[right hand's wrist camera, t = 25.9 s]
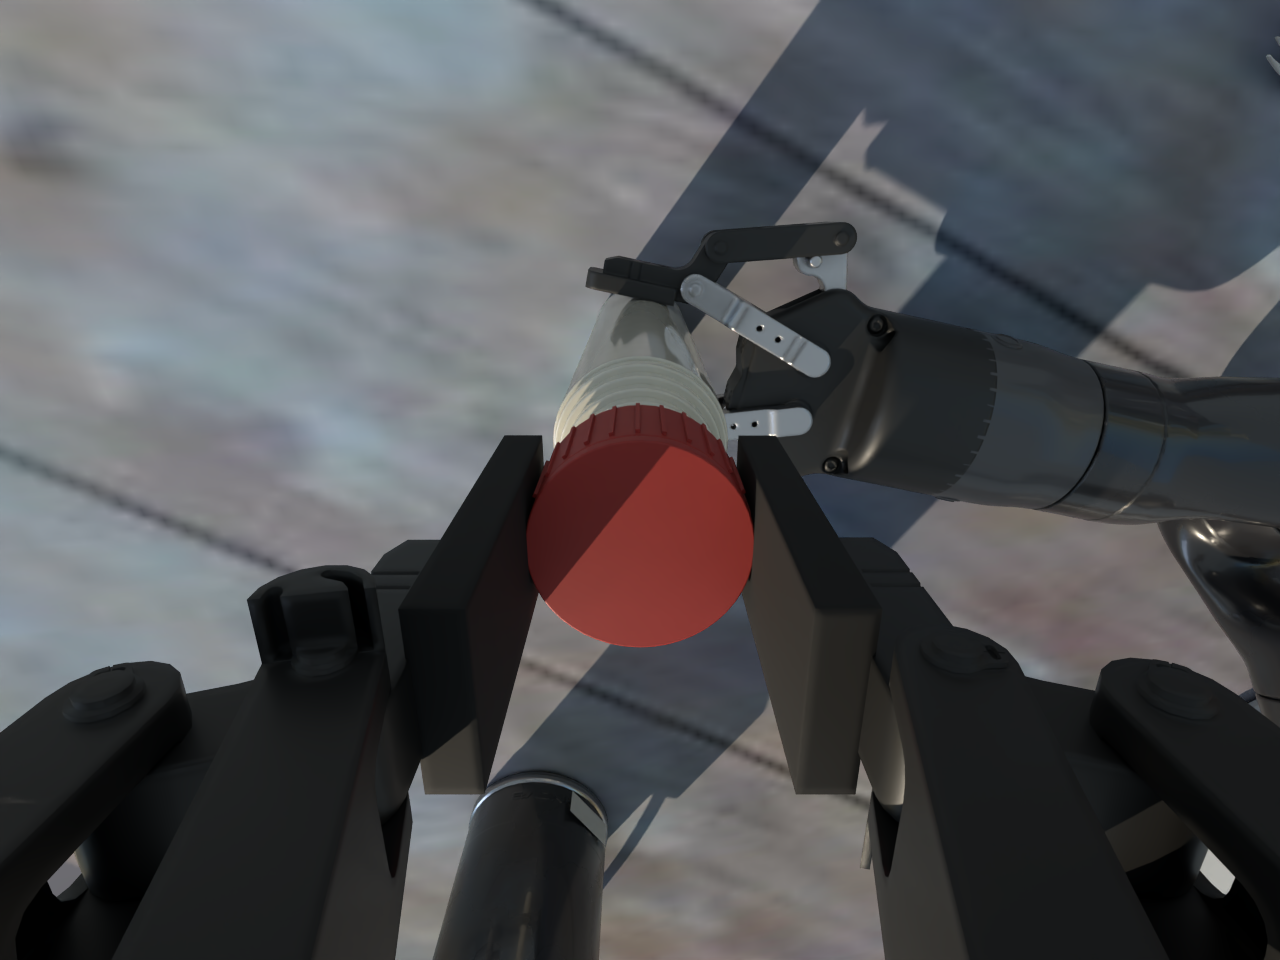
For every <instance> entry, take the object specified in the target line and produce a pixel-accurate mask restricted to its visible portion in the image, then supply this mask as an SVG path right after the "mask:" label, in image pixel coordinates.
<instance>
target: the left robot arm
mask: <svg viewBox="0 0 1280 960" xmlns="http://www.w3.org/2000/svg"><path fill="white" fill-rule="evenodd" d="M856 240H857V233H856V230H855V228H854V227H853V226H852V225H851V224H849V223H845V222H818V223H805V224H792V225H778V226H765V227H752V228H738V229H725V230H713V231H710V232H708V233H707V234H706V235H705V236H704V237H703V239H702V242H701V245H700V247H699V249H698V250H697V252H696V253H695V255H694V257H693V258H692V260H691V261H690V262H689V263H688V264H687V265H685V266H683V267H679V268H673V267H668V266H664V265H659V264H654V263H650V262H645V261H641V260H636V259H631V258H627V257H622V256H615V257H610V258H606V260H605V263H604V269H600V268H595V267H590V268H589V269H588V275H587V281H586V287H588V288H591V289H595V290H599V291H604V292H608V293H613V294H618V295H623V296H627V297H632V298H637V299H641V300H646V301H652V302H656V303H660V304H665V305H669V306H674V302H675V301H677V302H682V303H687V304H691V305H692V306H694V307H696V308H697V309H699V310H701V311H702V312H704V313H706V314H707V315H709V316H711V317H713V318H714V319H716V320H718V321H719V322H721V323H722V324H724V325H725V326H727V327H728V328H730V329H731V330H733V331H734V332H736V333H738V334H739V338H738V342H737V346H736V367H735V369H734V371H733V372H732V374H731V376H730V378H729V380H728V381H727V385H726V389H725V393H724V394H718V395H716V396H717V398H718V400H719V403H720V405H721V408H722V410H723V413H724V416H725V420H726V424H727V432H728V441H730V440H738V435H776V437H777V438H778V440H779V441H780V443H781V445H782V446H783V448H784V450H785V451H786V453H787V454H788V456H789V458H790V459H791V461H792V463H793V464H794V466H795V467H796V469H797V471H798V472H799V474H800V476H804V475H808V474H814V473H824V474H829V475H833V476H837V477H842V478H847V479H852V480H857V481H862V482H867V483H873V484H878V485H883V486H888V487H893V488H898V489H903V490H908V491H913V492H918V493H923V494H928V495H932V496H934V497H935V498H938V499H941V500H945V501H951V502H954V501H963V502H968V503H974V504H981V505H989V506H1005V507H1021V508H1028V509H1034V510H1039V511H1044V512H1049V513H1054V514H1059V515H1064V516H1069V517H1074V518H1079V519H1084V520H1088V521H1094V522H1101V523H1109V524H1123V525H1138V524H1149V523H1157V525H1158V527H1159V529H1160V532H1161V534H1162V536H1163V538H1164V540H1165V542H1166V544H1167V546H1168V547H1169V549H1170V551H1171V553H1172V554H1173V556H1174V557H1175V559H1176V560H1177V562H1178V563H1179V565H1180V566H1181V568H1182V569H1183V571H1184V572H1185V574H1186V575H1187V577H1188V579H1189V580H1190V582H1191V583H1192V585H1193V586H1194V588H1195V589H1196V591H1197V592H1198V594H1199V595H1200V597H1201V598H1202V600H1203V601H1204V603H1205V604H1206V606H1207V608H1208V609H1209V611H1210V612H1211V614H1212V615H1213V617H1214V619H1215V620H1216V622H1217V623H1218V624H1219V626H1220V627H1221V629H1222V630H1223V631H1224V633H1225V634H1226V636H1227V637H1228V638H1229V640H1230V641H1231V642H1232V644H1233V645H1234V647H1235V648H1236V650H1237V651H1238V653H1239V654H1240V656H1241V657H1242V659H1243V661H1244V662H1245V665H1246V667H1247V669H1248V672H1249V676H1250V679H1251V683H1252V686H1253V689H1254V691H1255V692H1256V694H1255V696H1256V699H1257V702H1258V705H1259V708H1260V711H1261V713H1262V714H1263V715H1264V716H1265V717H1267V718H1268V719H1269V720H1271V721H1272V722H1273V723H1275V724H1276V725H1277V726H1278V727H1280V378H1257V377H1202V378H1162V377H1157V376H1154V375H1150V374H1146V373H1142V372H1138V371H1133V370H1128V369H1124V368H1119V367H1115V366H1110V365H1105V364H1101V363H1096V362H1092V361H1087V360H1082V359H1078V358H1075V357H1071V356H1068V355H1065V354H1062V353H1059V352H1057V351H1054V350H1052V349H1049V348H1047V347H1044V346H1041V345H1038V344H1035V343H1031V342H1027V341H1023V340H1020V339H1015V338H1012V337H1010V336H1007V335H1003V334H992V333H987V332H983V331H978V330H974V329H968V328H964V327H960V326H955V325H951V324H946V323H941V322H937V321H932V320H928V319H923V318H918V317H914V316H909V315H905V314H900V313H896V312H891V311H886V310H882V309H877V308H873V307H869V306H867V305H865V304H864V303H863V302H861V301H860V300H859V299H858V298H857V297H856V296H855V295H854V294H853V293H851V292H850V291H848V290H847V266H848V252H849V251H851V250H852V249H853V247H854V246H855V244H856ZM787 258H793V264H794V267H795V269H796V270H797V271H798V272H800V273H802V274H805V275H809V276H814V277H815V278H816V279H817V280H818V282H819V286H820V289H818V290H816V291H813V292H811V293H809V294H807V295H804V296H802V297H800V298H798V299H795V300H793V301H791V302H789V303H786V304H784V305H782V306H780V307H778V308H775V309H773V310H771V311H769V312H765V311H763V310H761V309H760V308H758V307H757V306H755V305H753V304H752V303H750V302H748V301H747V300H745V299H743V298H742V297H740V296H738V295H737V294H735V293H733V292H731V291H730V290H728V289H726V288H725V287H723V286H721V285H720V284H718V283H716V281H717V280H718V278H719V276H720V275H721V273H722V272H723V270H724V269H725V267H726V265H727V264H728V263H733V262H747V261H760V260H774V259H787ZM725 406H726V408H725V409H723V408H724V407H725ZM732 424H733V425H734V426H731V425H732ZM607 834H608V820H607V815H606V812H605V810H604V808H603V806H602V804H601V802H600V801H599V800H598V798H597V797H596V796H595V795H594V794H593V793H592V792H591V791H590V790H589V789H588V788H586V787H585V786H583V785H582V784H580V783H578V782H577V781H575V780H572V779H570V778H568V777H565V776H562V775H558V774H553V773H547V772H525V773H519V774H515V775H511V776H508V777H505V778H503V779H501V780H499V781H497V782H495V783H494V784H492V785H491V786H489V787H488V788H487V789H486V791H485V794H481V795H480V797H479V798H478V800H477V801H476V803H475V805H474V808H473V811H472V815H471V818H470V823H469V831H468V835H467V838H466V842H465V845H464V849H463V853H462V856H461V859H460V862H459V866H458V870H457V873H456V877H455V881H454V884H453V888H452V891H451V895H450V899H449V902H448V906H447V909H446V913H445V917H444V920H443V924H442V927H441V931H440V935H439V938H438V942H437V945H436V949H435V953H434V956H433V960H599V947H600V930H601V912H602V894H603V880H604V862H605V847H606V843H607Z"/></svg>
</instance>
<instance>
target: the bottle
mask: <svg viewBox="0 0 1280 960" xmlns="http://www.w3.org/2000/svg"><path fill="white" fill-rule="evenodd" d="M636 403H640V405H650V406H658V407H659V405H664V408H667V409H671V410H674V411H676V412H679V413H682V412H685V413H686V415H687V416H688V417H690V418H692V419H693V420H695V421H696V422H698V423H699V424H702V423H704V424H705V425H706V427H707V430H708V431H709V432H710V433H712V434H713V435H714V437H715V438H716V439H717V440H718V439H719V438H720V439H721V441H722V443H723V445H724V448H725V451H726V453H727V447H728V432H727V424H726V420H725V416H724V413H723V410H722V408H721V405H720V403H719V400H718V398H717V396H716V393H715V391H714V389H713V386H712V384H711V382H710V379H709V377H708V375H707V372H706V370H705V367H704V365H703V363H702V360H701V358H700V356H699V353H698V351H697V349H696V346H695V344H694V341H693V339H692V337H691V334H690V332H689V330H688V327H687V325H686V323H685V320H684V318H683V315H682V313H681V311H680V309H679V307H678V305H677V304H676V302H674V306H669V305H665V304H660V303H656V302H652V301H646V300H641V299H637V298H632V297H627V296H623V295H618V294H612V295H611V296H610V297H609V298H608V299H607V301H606V302H605V303H604V305H603V307H602V309H601V311H600V313H599V316H598V318H597V320H596V323H595V325H594V327H593V330H592V332H591V335H590V337H589V339H588V342H587V344H586V347H585V349H584V351H583V354H582V356H581V359H580V361H579V363H578V366H577V368H576V370H575V373H574V375H573V378H572V380H571V382H570V385H569V387H568V390H567V392H566V394H565V397H564V399H563V402H562V404H561V406H560V409H559V411H558V414H557V417H556V421H555V426H554V435H553V440H554V448H555V445H556V443H557V442H560V443H561V441H562V440H563V439H564V438H565V437H566V436H567V435H568V434H569V433H570V430H571V428H572V427H573V426H575V427H577V426H578V425H579V424H581V423H582V422H584V421H585V420H587V419H589V418H590V415H591V414H593V413H594V414H595V415H597V414H599V413H601V412H603V411H607V410H610V409H612V406H617V407H623V406H629V405H636Z"/></svg>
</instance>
